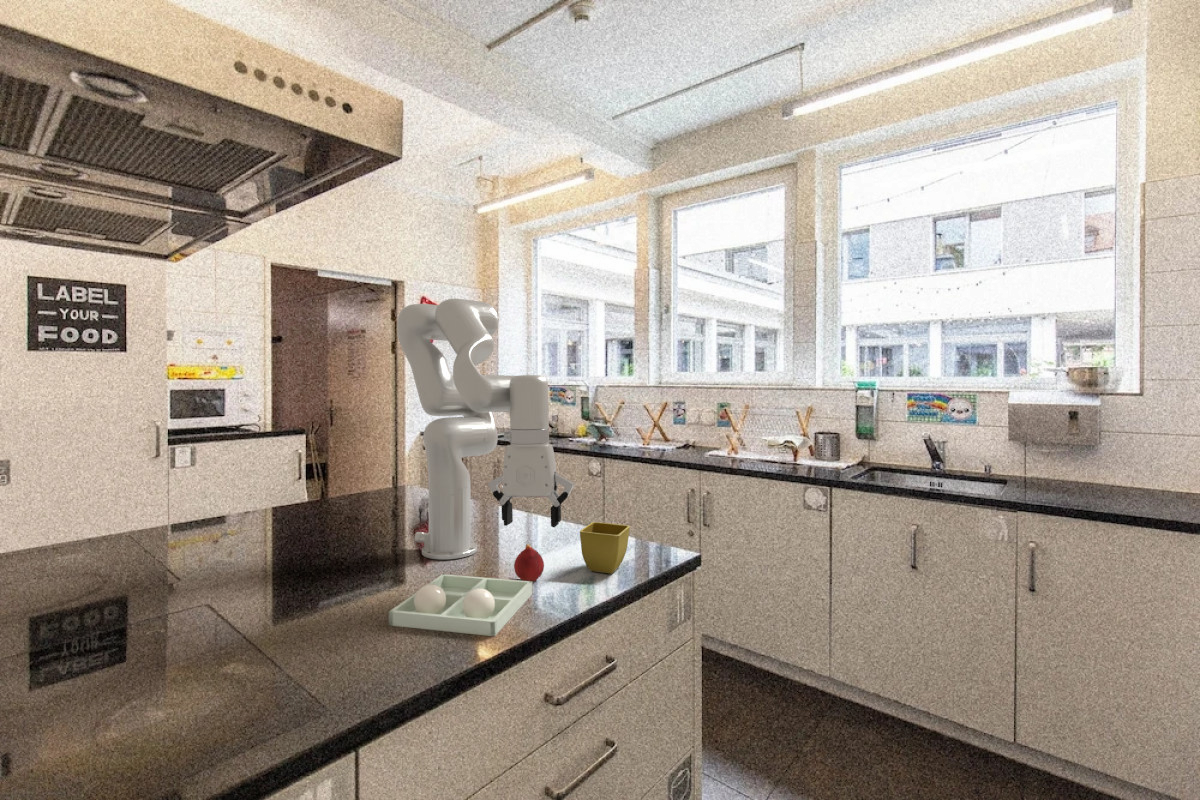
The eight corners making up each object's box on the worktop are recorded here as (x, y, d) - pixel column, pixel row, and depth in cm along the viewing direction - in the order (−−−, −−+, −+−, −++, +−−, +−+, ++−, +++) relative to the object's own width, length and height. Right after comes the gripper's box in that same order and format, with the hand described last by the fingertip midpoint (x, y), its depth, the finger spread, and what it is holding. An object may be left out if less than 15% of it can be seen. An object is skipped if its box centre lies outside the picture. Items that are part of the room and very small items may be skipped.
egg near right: (456, 625, 91) (456, 593, 91) (470, 613, 96) (470, 582, 96) (487, 628, 90) (487, 596, 90) (499, 615, 95) (499, 585, 95)
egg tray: (388, 631, 91) (388, 611, 91) (442, 590, 109) (442, 574, 109) (494, 642, 87) (494, 621, 87) (532, 598, 105) (532, 581, 105)
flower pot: (630, 565, 124) (630, 525, 124) (618, 578, 116) (618, 535, 116) (592, 561, 127) (592, 521, 127) (578, 573, 119) (578, 531, 119)
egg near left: (407, 620, 93) (407, 589, 93) (423, 608, 98) (423, 578, 98) (436, 623, 92) (436, 592, 92) (451, 611, 97) (451, 581, 97)
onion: (546, 579, 115) (546, 540, 115) (540, 590, 109) (540, 549, 109) (518, 578, 116) (518, 539, 116) (510, 589, 110) (511, 548, 110)
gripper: (480, 439, 110) (482, 528, 110) (567, 439, 106) (569, 531, 106) (495, 436, 117) (497, 519, 117) (577, 436, 113) (578, 521, 114)
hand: (531, 524), depth 112 cm, fingers open, 9 cm apart
